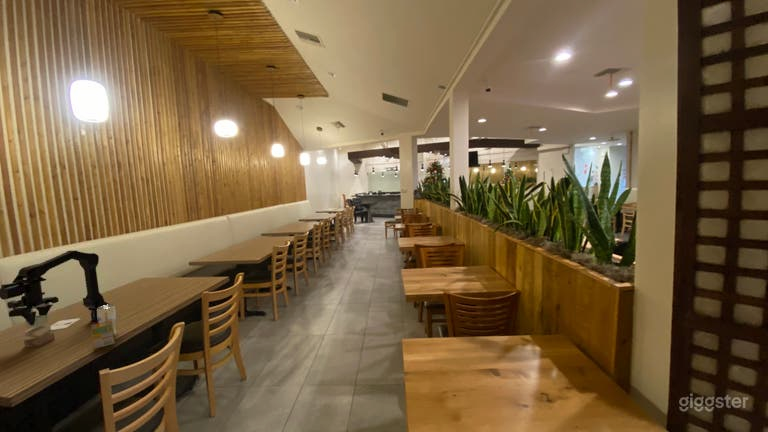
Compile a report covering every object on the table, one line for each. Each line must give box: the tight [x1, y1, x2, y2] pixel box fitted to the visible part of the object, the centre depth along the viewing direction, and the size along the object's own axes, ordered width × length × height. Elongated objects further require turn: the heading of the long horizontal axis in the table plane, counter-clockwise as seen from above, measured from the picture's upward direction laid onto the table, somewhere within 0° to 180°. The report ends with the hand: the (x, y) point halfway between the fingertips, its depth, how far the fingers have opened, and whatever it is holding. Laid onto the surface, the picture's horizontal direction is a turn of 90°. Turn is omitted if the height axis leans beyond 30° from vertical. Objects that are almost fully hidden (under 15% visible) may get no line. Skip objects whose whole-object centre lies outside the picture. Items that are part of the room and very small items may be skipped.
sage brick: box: [25, 314, 49, 329], centre depth 149 cm, size 5×5×4 cm
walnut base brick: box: [23, 332, 56, 348], centre depth 150 cm, size 7×7×4 cm
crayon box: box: [91, 321, 116, 350], centre depth 145 cm, size 7×3×12 cm, turn 129°
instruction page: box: [50, 317, 82, 331], centre depth 171 cm, size 10×14×1 cm
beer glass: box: [97, 304, 118, 336], centre depth 156 cm, size 7×7×15 cm
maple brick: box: [24, 324, 52, 340], centre depth 149 cm, size 6×6×4 cm
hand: (37, 323), depth 149 cm, fingers closed on sage brick, 5 cm apart
